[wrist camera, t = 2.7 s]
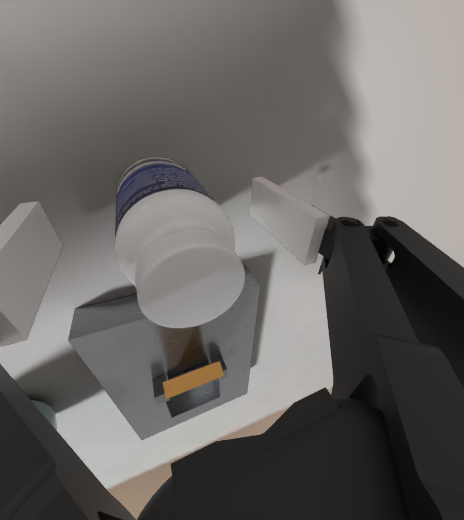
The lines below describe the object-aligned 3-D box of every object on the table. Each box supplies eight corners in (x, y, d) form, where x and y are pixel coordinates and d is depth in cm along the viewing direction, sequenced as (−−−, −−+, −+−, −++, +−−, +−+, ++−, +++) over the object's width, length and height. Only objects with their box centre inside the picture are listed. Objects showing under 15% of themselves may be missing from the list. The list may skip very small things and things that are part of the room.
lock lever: (168, 378, 23) (171, 393, 23) (158, 380, 15) (163, 404, 14) (208, 363, 24) (212, 376, 24) (221, 357, 16) (227, 377, 15)
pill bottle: (95, 196, 14) (68, 310, 6) (159, 135, 13) (206, 185, 6) (160, 245, 17) (190, 354, 10) (212, 199, 17) (282, 279, 9)
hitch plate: (140, 415, 31) (142, 457, 27) (74, 309, 17) (63, 364, 14) (239, 374, 35) (252, 405, 32) (246, 266, 22) (270, 299, 19)
